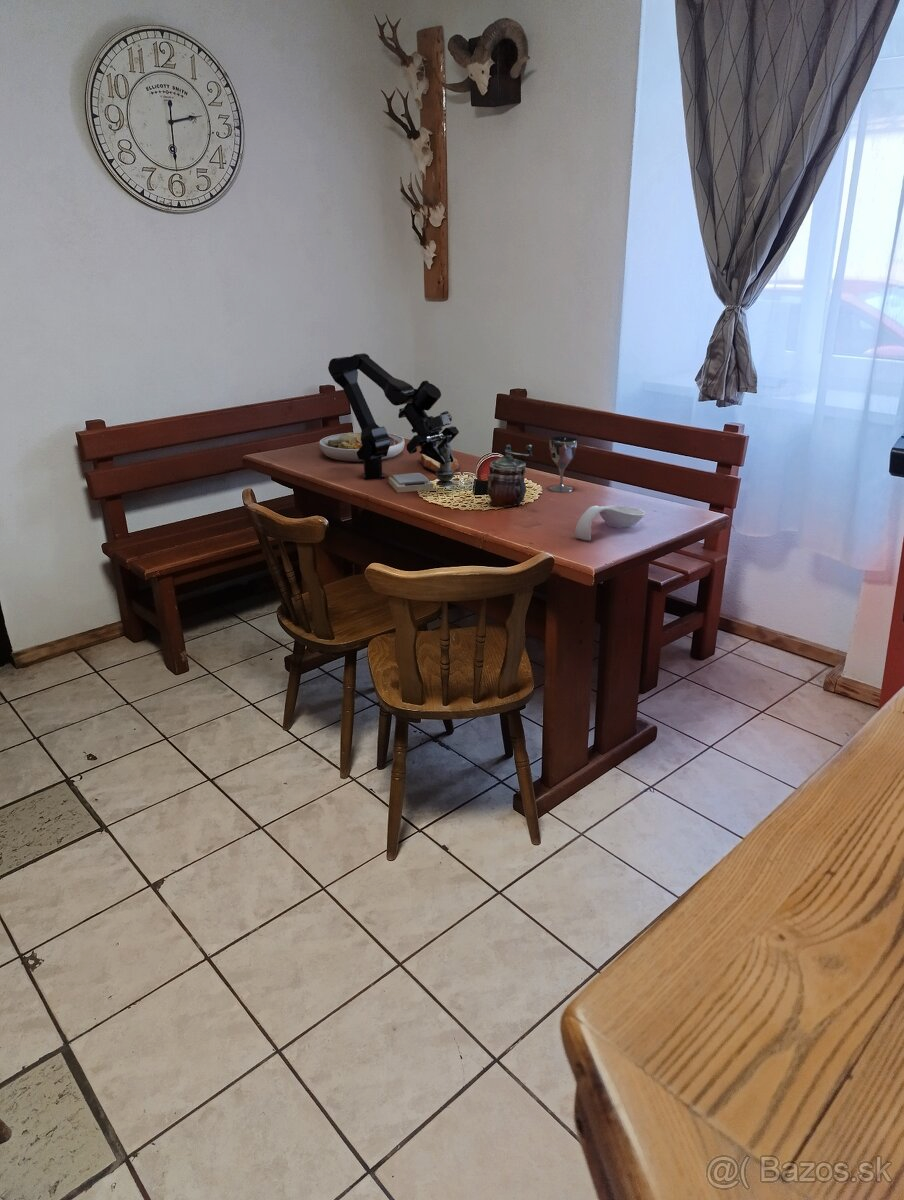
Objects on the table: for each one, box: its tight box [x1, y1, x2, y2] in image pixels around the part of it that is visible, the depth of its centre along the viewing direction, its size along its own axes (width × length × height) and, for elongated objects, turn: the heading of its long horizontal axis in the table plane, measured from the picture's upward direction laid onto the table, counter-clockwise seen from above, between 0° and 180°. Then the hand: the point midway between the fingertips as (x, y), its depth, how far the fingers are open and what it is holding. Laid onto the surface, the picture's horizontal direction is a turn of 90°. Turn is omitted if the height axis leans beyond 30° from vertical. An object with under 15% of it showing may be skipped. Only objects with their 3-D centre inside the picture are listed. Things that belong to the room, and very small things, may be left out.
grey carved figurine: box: [434, 444, 456, 487], centre depth 240 cm, size 6×6×12 cm
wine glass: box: [548, 436, 578, 493], centre depth 242 cm, size 8×8×15 cm
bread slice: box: [420, 454, 460, 473], centre depth 271 cm, size 18×18×4 cm
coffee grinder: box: [486, 444, 534, 508], centre depth 227 cm, size 13×15×18 cm
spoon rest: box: [573, 504, 646, 541], centre depth 207 cm, size 24×12×7 cm, turn 137°
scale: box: [388, 472, 434, 494], centre depth 248 cm, size 12×11×3 cm
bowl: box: [318, 431, 406, 463], centre depth 288 cm, size 30×30×8 cm
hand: (448, 462), depth 239 cm, fingers closed on grey carved figurine, 3 cm apart
